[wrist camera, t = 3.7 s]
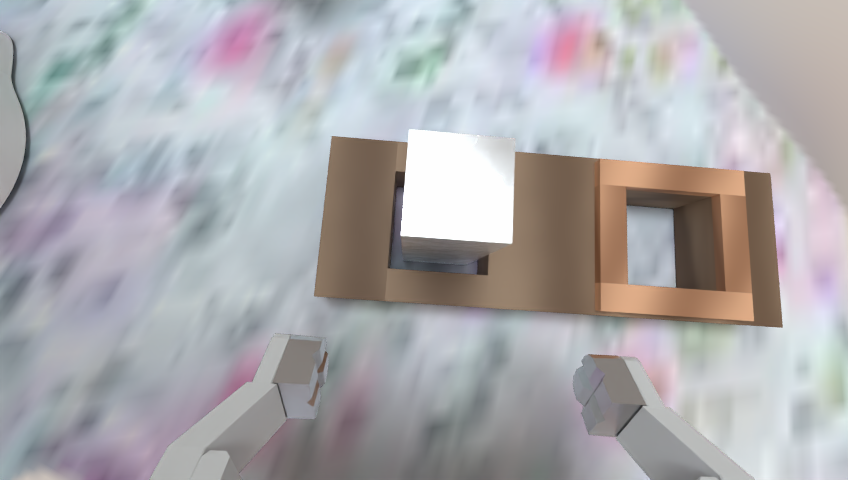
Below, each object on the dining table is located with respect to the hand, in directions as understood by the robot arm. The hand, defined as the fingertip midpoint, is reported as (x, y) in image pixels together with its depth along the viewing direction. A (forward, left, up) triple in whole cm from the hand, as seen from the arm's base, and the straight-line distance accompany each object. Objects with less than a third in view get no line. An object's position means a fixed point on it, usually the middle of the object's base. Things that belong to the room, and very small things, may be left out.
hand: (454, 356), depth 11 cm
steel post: (-3, +5, -11) cm, 12 cm away
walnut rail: (+3, +8, -11) cm, 14 cm away
